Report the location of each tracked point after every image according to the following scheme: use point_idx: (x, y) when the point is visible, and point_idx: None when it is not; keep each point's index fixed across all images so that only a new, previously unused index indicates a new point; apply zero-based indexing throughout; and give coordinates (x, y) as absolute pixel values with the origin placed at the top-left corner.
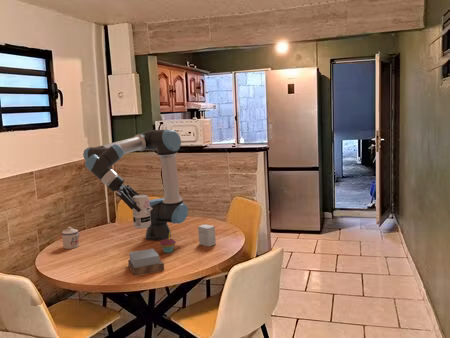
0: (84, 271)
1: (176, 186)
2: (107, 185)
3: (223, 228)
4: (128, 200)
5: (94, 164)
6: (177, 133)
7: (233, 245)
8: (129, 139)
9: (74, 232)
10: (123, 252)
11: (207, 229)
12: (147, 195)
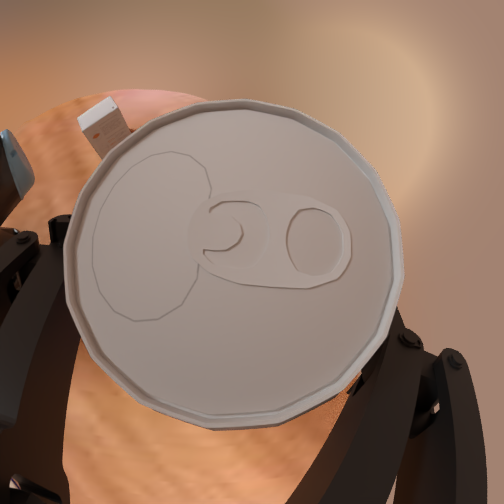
0: (216, 490)
1: None
2: None
3: (47, 122)
4: (471, 439)
5: None
6: None
7: (156, 98)
8: None
9: (14, 485)
10: (79, 380)
11: (117, 110)
12: (213, 102)
